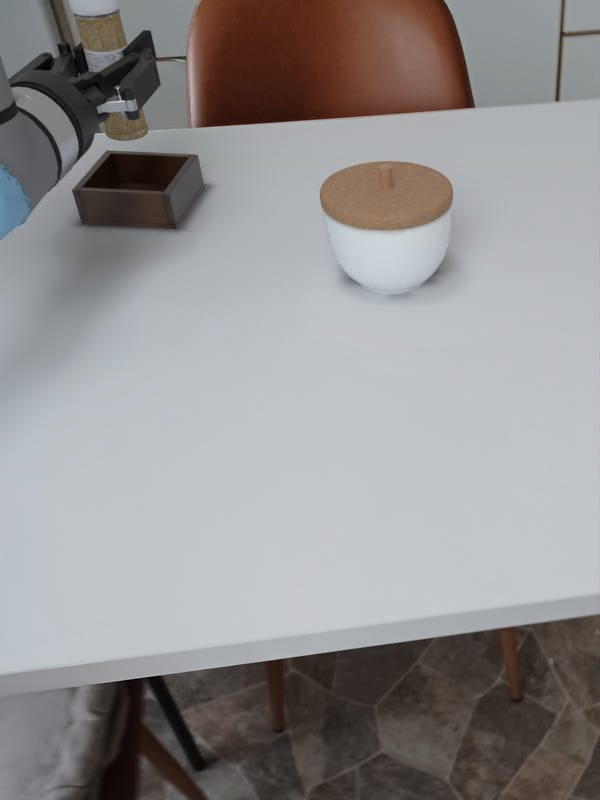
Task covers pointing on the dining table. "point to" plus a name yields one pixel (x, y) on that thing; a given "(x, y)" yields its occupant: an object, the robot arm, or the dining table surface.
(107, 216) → the box
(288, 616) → the dining table surface
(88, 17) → the brown spice jar
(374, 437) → the dining table surface
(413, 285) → the lidded bowl
